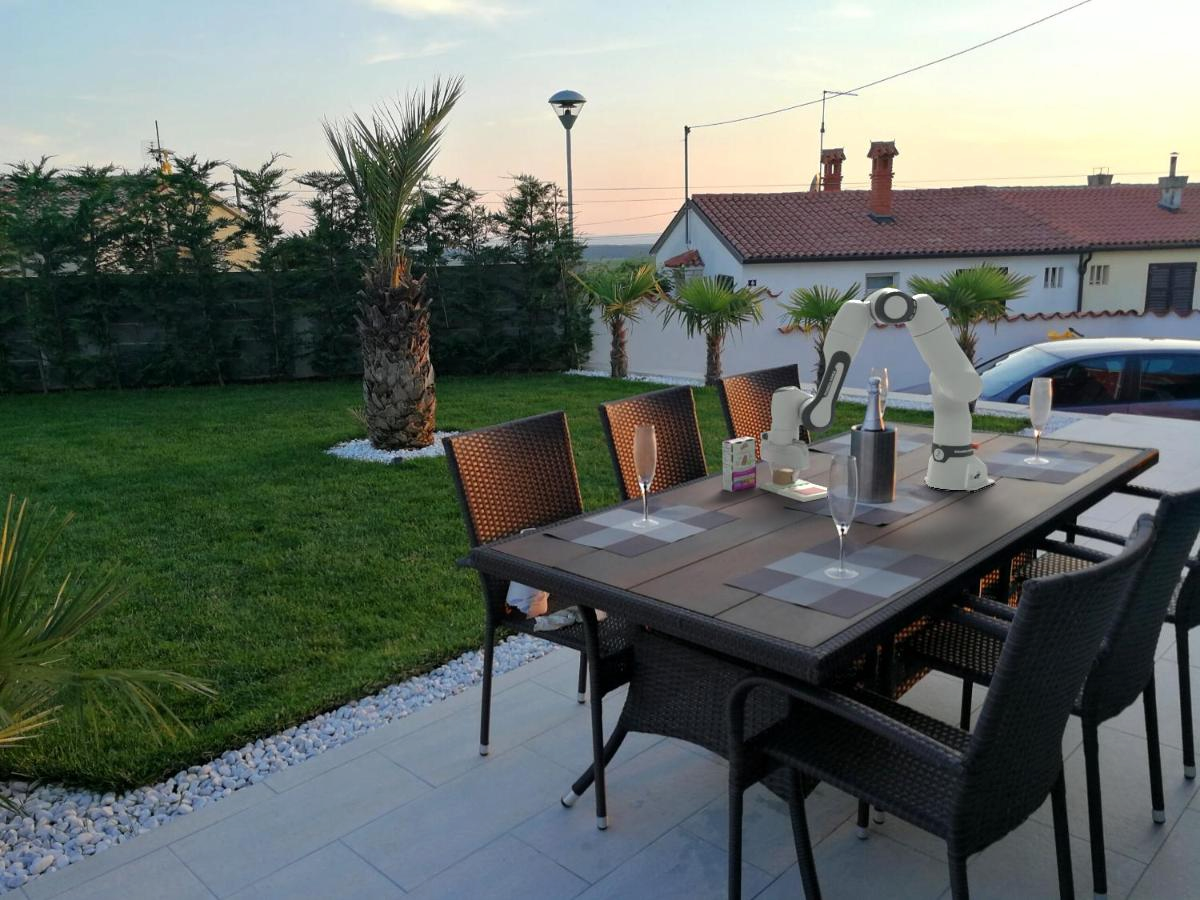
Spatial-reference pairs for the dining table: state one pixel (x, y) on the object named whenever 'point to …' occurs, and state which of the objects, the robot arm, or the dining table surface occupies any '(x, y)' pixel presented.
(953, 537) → the dining table surface
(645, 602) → the dining table surface
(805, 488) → the board
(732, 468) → the candy bar box
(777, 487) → the stub
